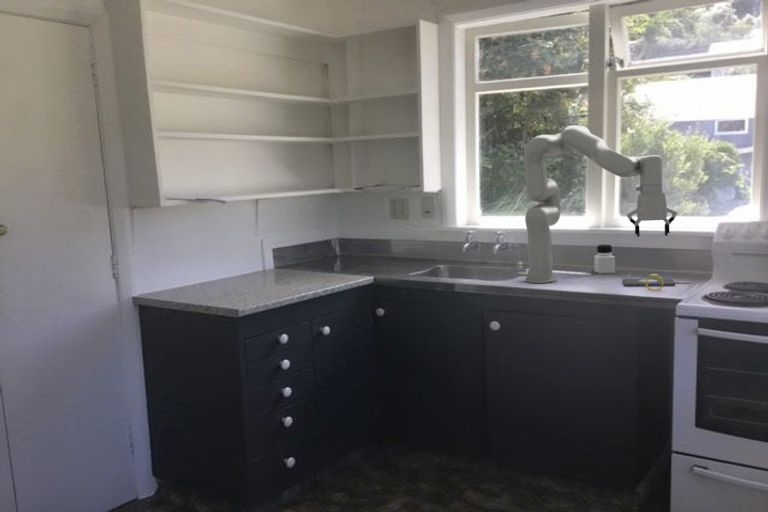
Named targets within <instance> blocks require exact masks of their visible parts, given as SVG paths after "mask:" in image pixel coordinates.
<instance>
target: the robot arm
mask: <svg viewBox="0 0 768 512" xmlns="http://www.w3.org/2000/svg"><path fill="white" fill-rule="evenodd" d="M572 151H575V152H577V153H578V154H581V155H582V156H584V157H587V158H588V159H590V160H591V161H592V162H594V163H595V164H596V165H598V166H599V167H600V168H602V169H604V170H605V171H607V172H609V173H611V174H613V175H614V176H617V177H620V178H628V177H630V178H631V177H636V176H639V186H635V191H636V192H638V191H639V193H638V195H637V201H636V209H634V210H632V211H630V212H628V213H627V214H626V217H627V218H628V220H629V222H630V223H632V224H633V226H634V233H635V235H636V236H637V237H638V238H639V237H640V223H641V222H647V221H650V222H651V221H663V222H664V223H665V224H664V236H667V237H668V234H670V224H671V223H673V221H674V220H675V218H676V217H677V216H678V212H677V211H675V210H673V209H670V208H669V207H667V205H668V204H667V198H666V193H665V192H664V191H663V163H662V162H663V161H662V157H661V156H660V155H656V154H655V155H654V154H653V155H644V156H633V155H632V156H630V155H629V156H628V155H627V156H626V155H623V154H620V153H618V152H617V151H615V150H613V149H611V148H610V147H609V146H607V143H606V141H605V140H604V139H603V138H601V137H599V136H598V135H594V134H593V133H591V132H590V130H589V128H587V127H586V126H585V125H584V126H583V125H575V124H574V125H568V126H566V127H564V129H562V131H561V132H560V133H556V134H539V135H536V136H534V137H533V138H531V139H530V140H529V141H528V142H527V144H526V145H525V148H524V152H523V160H524V169H525V171H524V172H525V175H524V176H525V185H526V188H525V189H526V190H525V191H526V195H527V198H528V199H529V200H530V201H532V202H537V204H535V205H532V206H531V207H529V208H528V210H527V211H526V213H525V215H524V216H525V217H524V218H525V219H524V220H525V221H524V222H525V226H526V230H527V231H526V232H527V244H528V246H527V248H528V250H527V251H528V270H525V271H518V272H517V276H518V277H525V278H524V279H525V282H526V283H531V284H546V283H549V284H550V283H554V282H556V281H558V280H557V277H556V276H554V275H553V244H552V242H553V241H552V233H551V230H550V229H551V228H550V227H552V226H554V225H556V224H557V223H558V222H559V220H560V218H561V205H560V204H561V203H560V190H559V189H560V188H559V187H558V184H557V182H556V181H555V180H554V179H553V178H550V177H548V173H547V165H546V164H547V163H546V161H545V157H549V156H550V157H554V156H561V155H563V154H566V153H570V152H572ZM668 213H670V214H671V216H670V217H669V218H668V219H667V217H668ZM635 214H636V217H637V219H636V220H635V219H634V218H633V217H632V216H633V215H635Z"/></svg>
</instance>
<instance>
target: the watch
mask: <svg viewBox="0 0 768 512" xmlns="http://www.w3.org/2000/svg"><path fill="white" fill-rule="evenodd" d="M649 278H660V280H661V281H662V286H660V287H659V288H650V286H648V285H647V280H648V279H649ZM662 278H663V277H661V276H660V275H659V273H658V274H657V273H650V275H649V276H648V277H647V279H646V278H645V279H646V286H645V287H646V288H647V289H648V290H649V291H660V290H661V289H662V288H663V287H664V286H663V280H662Z"/></svg>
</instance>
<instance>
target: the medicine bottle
mask: <svg viewBox="0 0 768 512" xmlns="http://www.w3.org/2000/svg"><path fill="white" fill-rule="evenodd" d="M596 248H597V252H596V253H597V254H595V255H593V256H594V258H593V260H594V261H593V262H594V272H595V273H598V274H601V275H602V274H615V273H616V256H614V255H613V246H612V245H611V244H598V245H597V247H596Z"/></svg>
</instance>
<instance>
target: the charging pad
mask: <svg viewBox="0 0 768 512" xmlns="http://www.w3.org/2000/svg"><path fill="white" fill-rule="evenodd" d="M647 278H648V277H647ZM647 278H622V284H623V287H646V279H647ZM661 278H662V280H663V286H662V281H661V280H660V278H658V277H650V278H649V279H648V280H647V285H648V287H661V286H662V287H676V284H691V283H692V281H690V280H689V281H688V280H686V281H685V280H684V281H683V280H678V281H676V280H675V281H674V280H673V279H672V278H671V277H670V278H669V277H667V278H666V277H665V278H663V277H661Z"/></svg>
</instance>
